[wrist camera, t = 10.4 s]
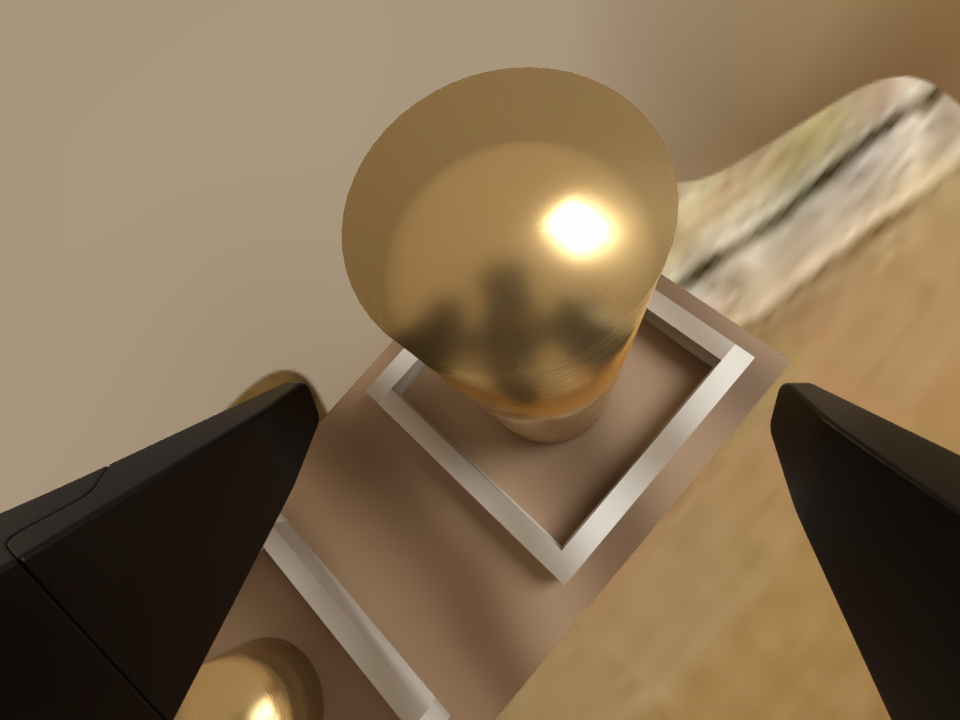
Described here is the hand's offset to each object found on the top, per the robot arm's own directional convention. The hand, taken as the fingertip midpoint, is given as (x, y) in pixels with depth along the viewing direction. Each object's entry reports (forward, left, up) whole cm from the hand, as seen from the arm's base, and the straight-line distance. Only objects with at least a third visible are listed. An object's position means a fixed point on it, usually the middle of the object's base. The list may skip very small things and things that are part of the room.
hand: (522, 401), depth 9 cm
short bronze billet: (-13, +7, -10) cm, 18 cm away
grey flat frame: (-5, +4, -12) cm, 14 cm away
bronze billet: (+2, +1, -10) cm, 10 cm away
